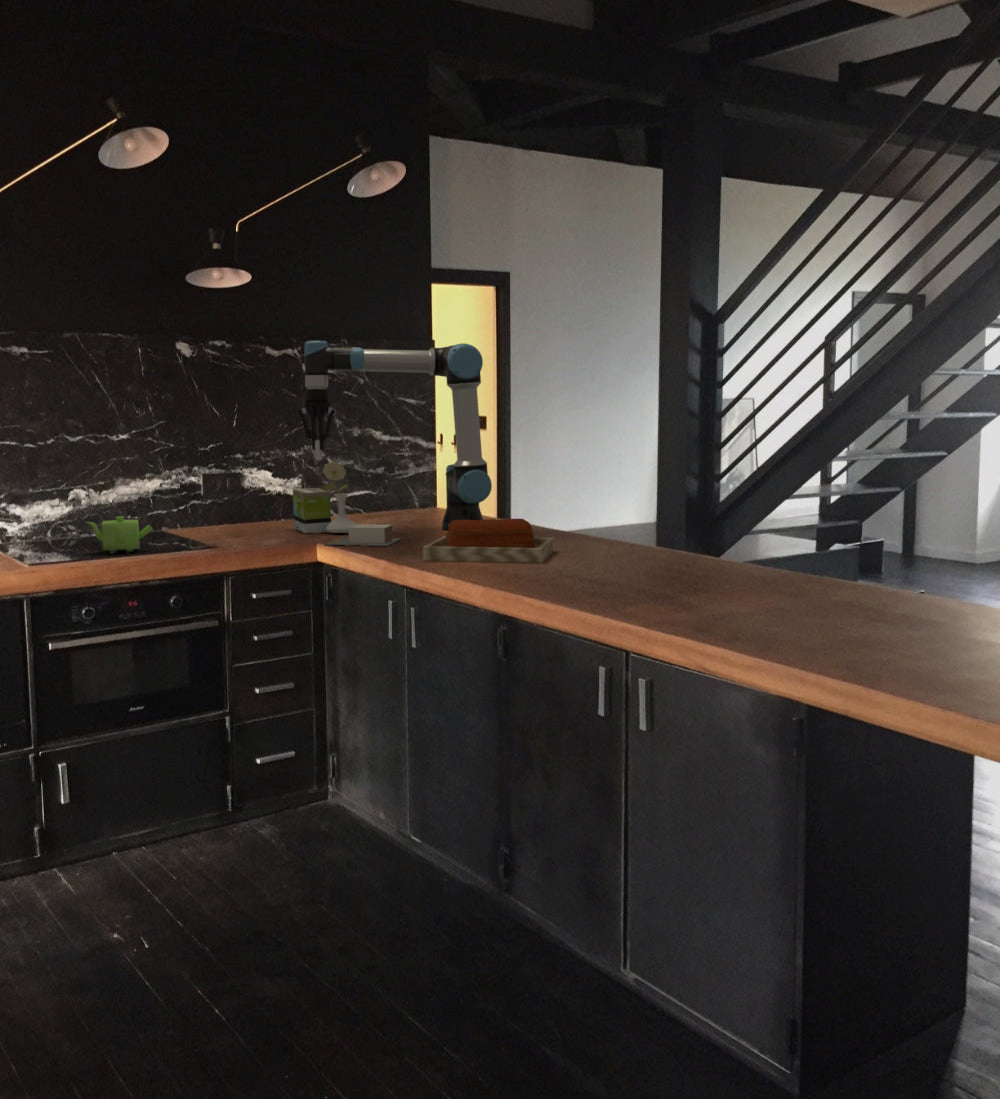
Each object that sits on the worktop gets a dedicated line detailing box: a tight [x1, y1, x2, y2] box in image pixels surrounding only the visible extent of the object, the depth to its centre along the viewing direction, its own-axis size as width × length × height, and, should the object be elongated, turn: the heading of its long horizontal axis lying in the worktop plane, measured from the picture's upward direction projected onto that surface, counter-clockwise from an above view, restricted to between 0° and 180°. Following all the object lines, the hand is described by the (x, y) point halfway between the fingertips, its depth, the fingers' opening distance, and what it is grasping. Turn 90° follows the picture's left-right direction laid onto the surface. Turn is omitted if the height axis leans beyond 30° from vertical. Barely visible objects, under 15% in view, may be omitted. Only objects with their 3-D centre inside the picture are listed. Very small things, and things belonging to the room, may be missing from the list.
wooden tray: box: [422, 536, 555, 564], centre depth 342 cm, size 35×24×5 cm
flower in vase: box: [322, 461, 357, 534], centre depth 398 cm, size 13×11×25 cm
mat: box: [323, 537, 402, 547], centre depth 373 cm, size 21×16×1 cm
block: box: [348, 523, 394, 543], centre depth 372 cm, size 5×9×12 cm
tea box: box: [292, 487, 332, 533], centre depth 406 cm, size 15×10×15 cm
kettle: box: [84, 515, 154, 552], centre depth 357 cm, size 15×14×11 cm
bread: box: [445, 518, 535, 548], centre depth 341 cm, size 16×27×11 cm, turn 98°
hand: (318, 460), depth 380 cm, fingers closed
